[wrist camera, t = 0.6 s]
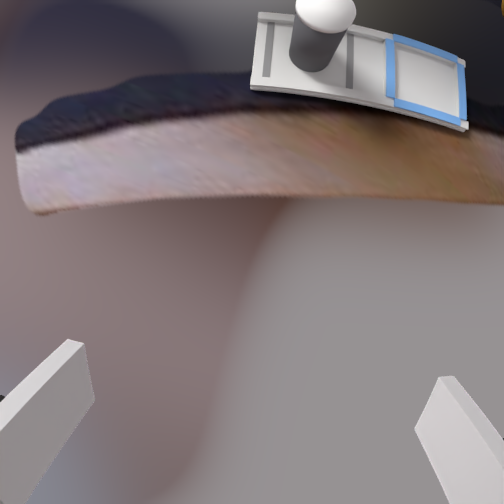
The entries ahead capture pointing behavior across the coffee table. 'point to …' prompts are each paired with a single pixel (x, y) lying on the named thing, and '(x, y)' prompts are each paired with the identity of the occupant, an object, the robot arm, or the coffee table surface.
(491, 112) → the coffee table surface
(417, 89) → the white divided tray
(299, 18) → the grey and white cylinder
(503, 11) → the apple
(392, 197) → the coffee table surface
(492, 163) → the coffee table surface
